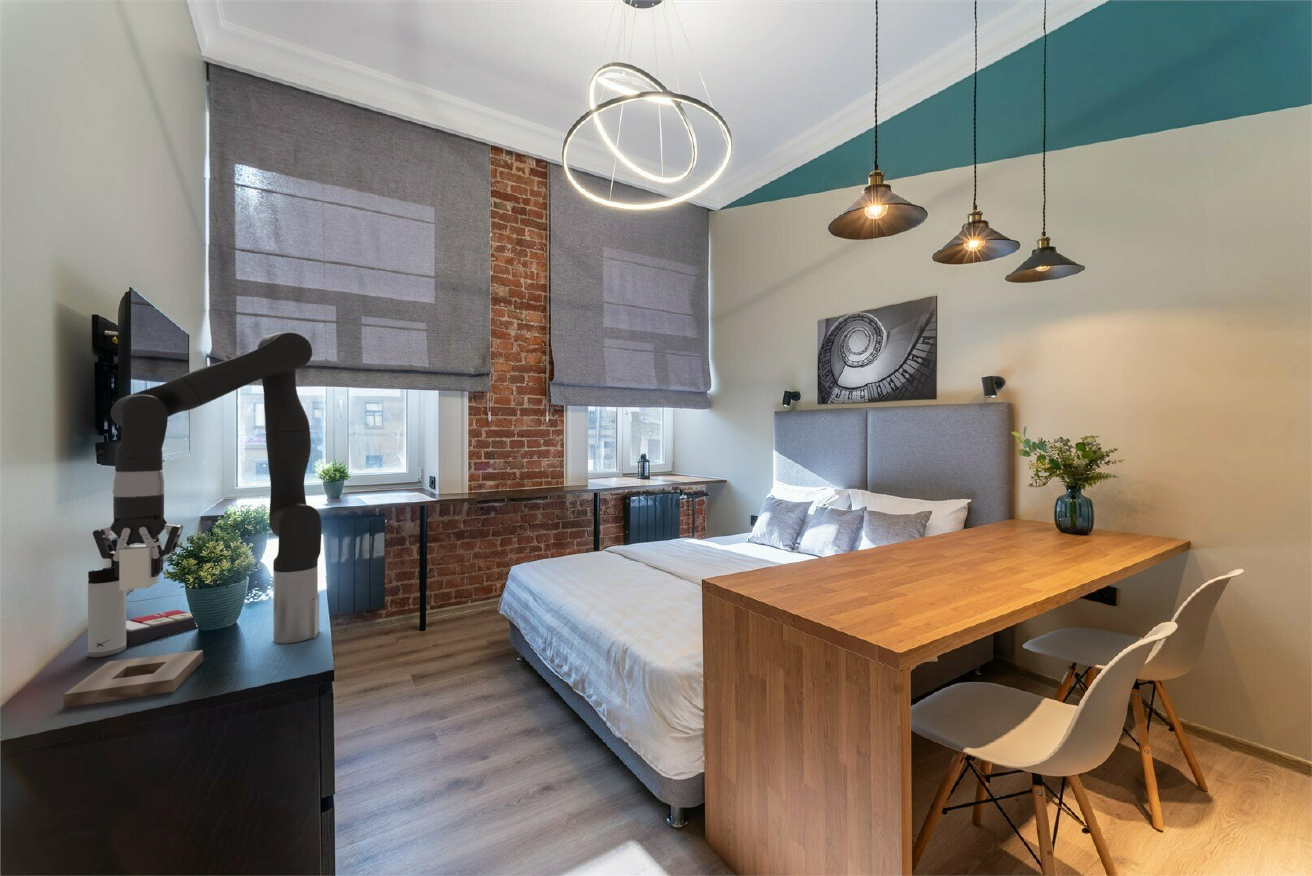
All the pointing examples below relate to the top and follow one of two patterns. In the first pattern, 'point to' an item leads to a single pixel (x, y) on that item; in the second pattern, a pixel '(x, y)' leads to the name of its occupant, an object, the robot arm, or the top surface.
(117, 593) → the travel mug
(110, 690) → the socket base
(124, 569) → the peg
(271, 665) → the top surface
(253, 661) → the top surface
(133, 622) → the calculator
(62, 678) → the top surface
